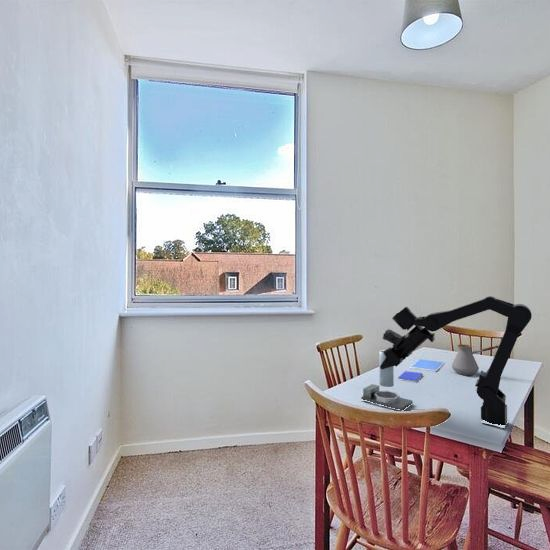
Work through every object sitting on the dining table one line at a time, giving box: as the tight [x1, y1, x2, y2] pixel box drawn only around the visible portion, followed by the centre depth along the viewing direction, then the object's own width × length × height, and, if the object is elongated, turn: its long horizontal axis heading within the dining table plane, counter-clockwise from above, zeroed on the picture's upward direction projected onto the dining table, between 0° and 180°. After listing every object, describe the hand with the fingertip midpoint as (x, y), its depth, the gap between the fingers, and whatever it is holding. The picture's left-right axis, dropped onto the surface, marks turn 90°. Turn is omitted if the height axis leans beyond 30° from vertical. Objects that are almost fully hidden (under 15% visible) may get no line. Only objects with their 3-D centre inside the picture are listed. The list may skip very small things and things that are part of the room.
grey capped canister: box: [378, 348, 395, 388], centre depth 135 cm, size 5×5×13 cm
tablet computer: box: [409, 358, 445, 373], centre depth 184 cm, size 19×13×1 cm, turn 144°
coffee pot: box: [451, 344, 499, 376], centre depth 168 cm, size 21×12×15 cm, turn 53°
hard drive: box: [397, 370, 424, 383], centre depth 165 cm, size 2×8×12 cm
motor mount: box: [360, 383, 414, 411], centre depth 135 cm, size 16×9×4 cm, turn 46°
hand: (382, 366), depth 135 cm, fingers closed on grey capped canister, 5 cm apart
